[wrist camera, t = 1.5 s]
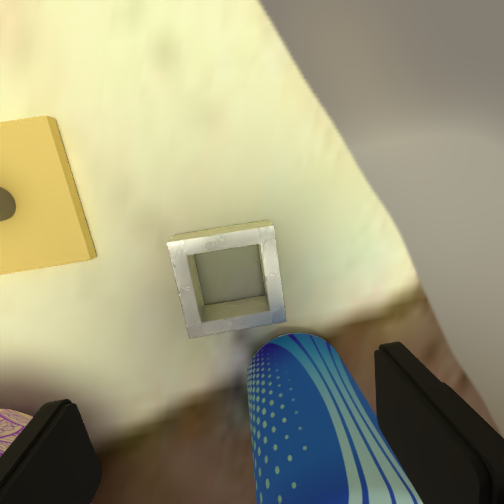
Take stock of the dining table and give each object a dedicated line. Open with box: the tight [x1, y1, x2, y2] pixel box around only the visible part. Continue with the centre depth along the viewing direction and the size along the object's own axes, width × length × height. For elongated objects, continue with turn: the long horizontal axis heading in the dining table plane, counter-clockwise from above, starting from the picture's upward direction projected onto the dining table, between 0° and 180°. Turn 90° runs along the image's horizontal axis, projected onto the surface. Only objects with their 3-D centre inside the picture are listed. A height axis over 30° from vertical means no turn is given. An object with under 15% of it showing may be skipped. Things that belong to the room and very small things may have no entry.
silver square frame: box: [167, 220, 286, 338], centre depth 22 cm, size 7×7×3 cm
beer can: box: [247, 333, 423, 504], centre depth 18 cm, size 8×8×16 cm
